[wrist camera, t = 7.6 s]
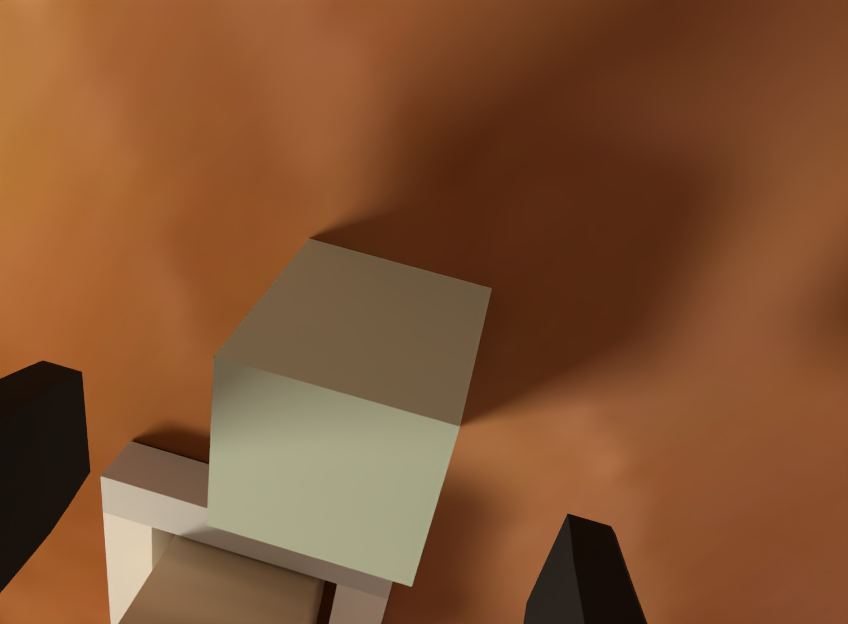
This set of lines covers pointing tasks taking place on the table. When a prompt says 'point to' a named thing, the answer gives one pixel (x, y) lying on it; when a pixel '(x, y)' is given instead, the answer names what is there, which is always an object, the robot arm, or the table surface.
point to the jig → (199, 533)
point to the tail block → (343, 408)
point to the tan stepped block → (222, 590)
